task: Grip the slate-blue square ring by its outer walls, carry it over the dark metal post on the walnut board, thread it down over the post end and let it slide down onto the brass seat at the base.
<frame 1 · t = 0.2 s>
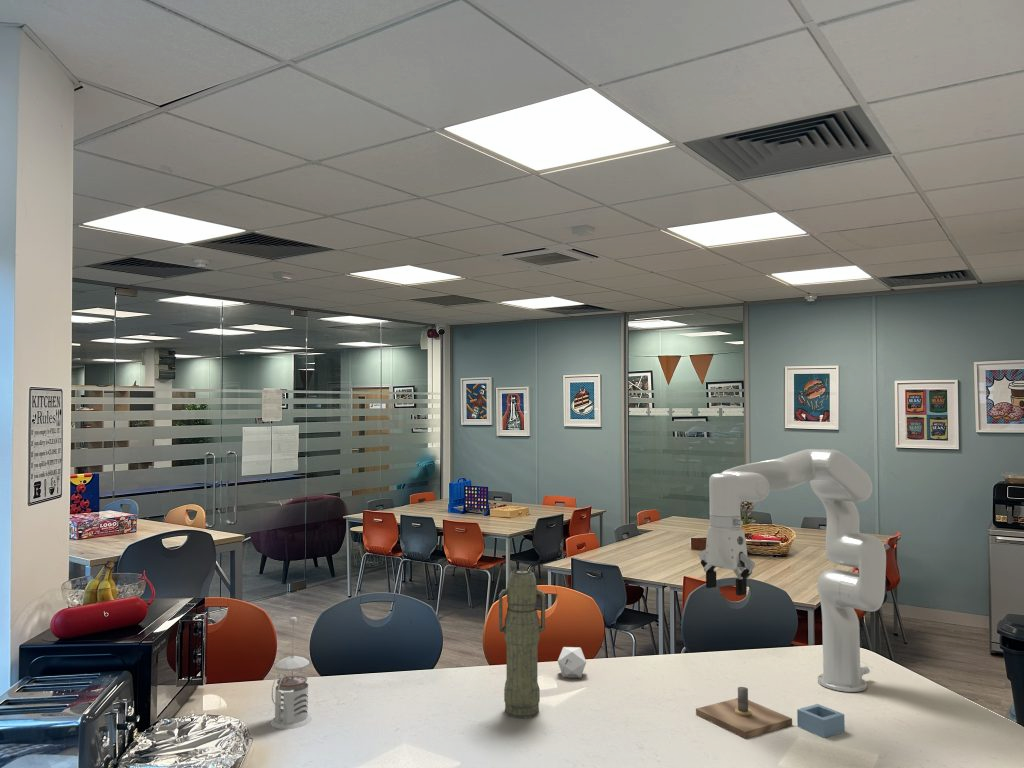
hand: (725, 591, 183), 31 cm above the countertop, tool pointing down, fingers open, 9 cm apart
post board: (743, 719, 179), on the countertop
slate ring: (820, 729, 173), on the countertop
french press: (289, 722, 177), on the countertop
die: (572, 676, 210), on the countertop
thermos: (522, 712, 184), on the countertop
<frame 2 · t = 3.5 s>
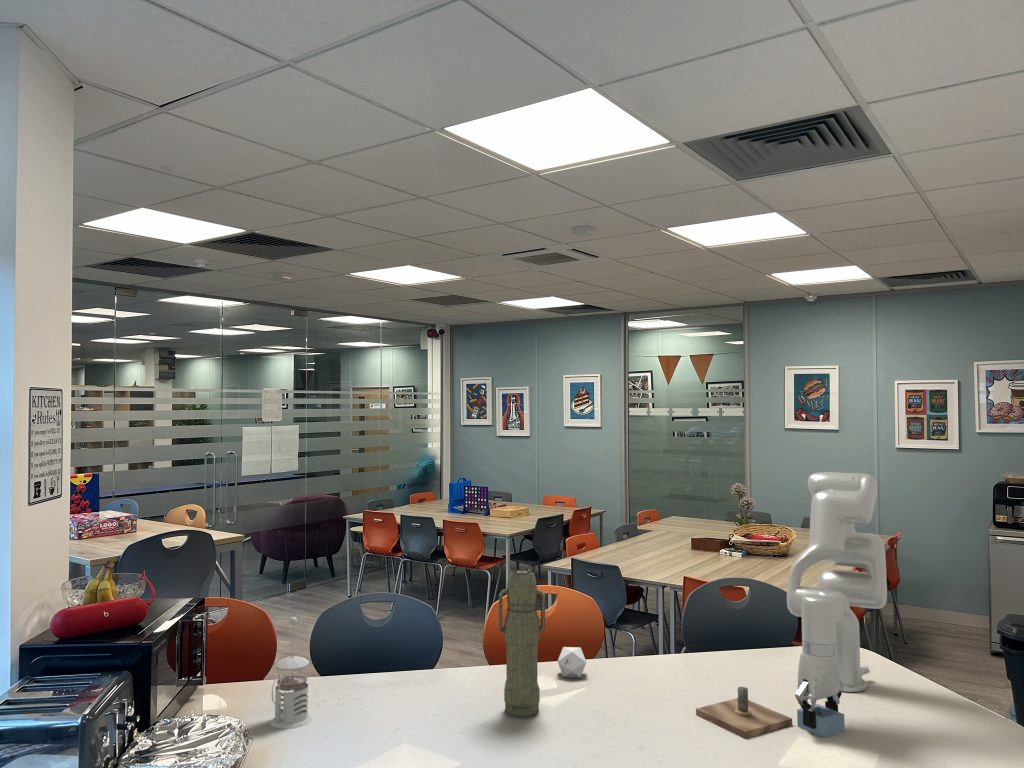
hand: (820, 722, 174), 1 cm above the countertop, tool pointing down, fingers closed on slate ring, 7 cm apart
slate ring: (820, 729, 173), on the countertop, touching gripper
everything else where it was.
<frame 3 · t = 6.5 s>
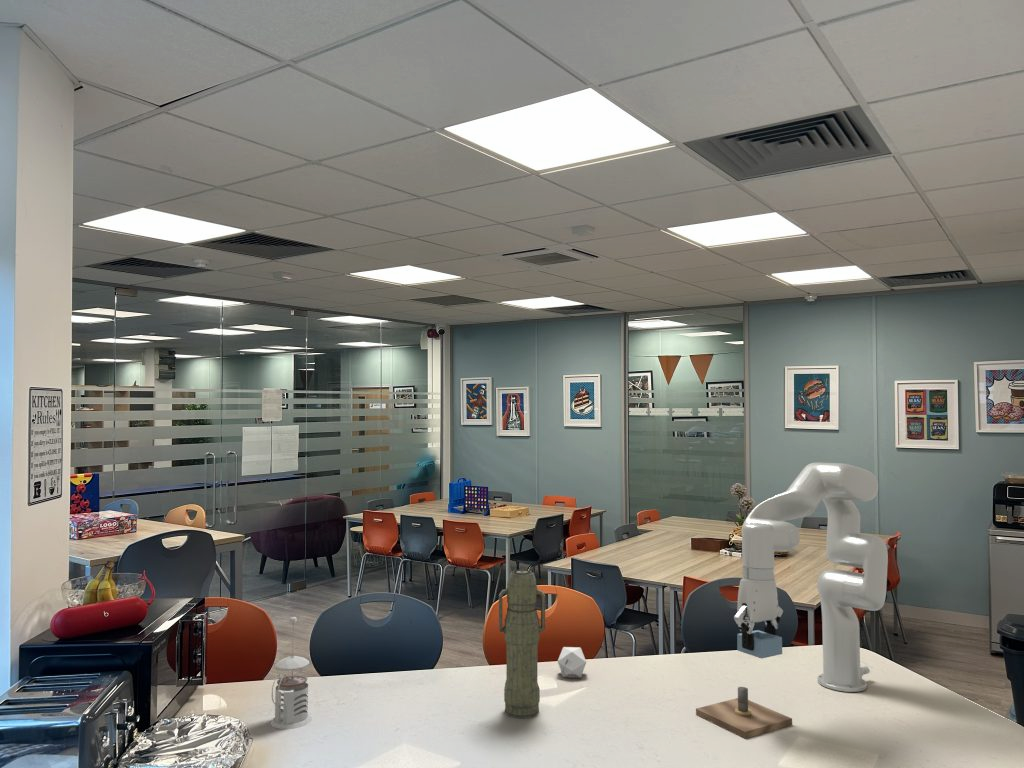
hand: (759, 646, 179), 18 cm above the countertop, tool pointing down, fingers closed on slate ring, 7 cm apart
slate ring: (759, 652, 178), point 17 cm above the countertop, touching gripper
everything else where it was.
when the fingers open (5 cm above the countertop, at t = 9.4 s): slate ring drops 2 cm, resting on post board.
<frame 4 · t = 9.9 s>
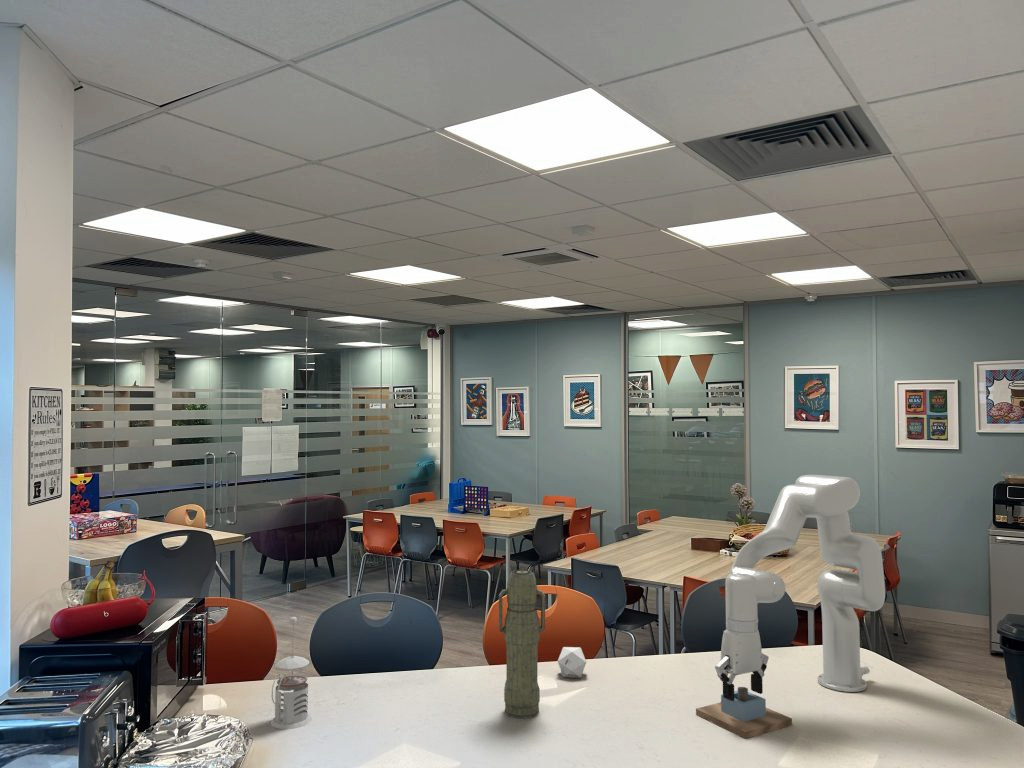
hand: (742, 695, 179), 6 cm above the countertop, tool pointing down, fingers open, 9 cm apart
slate ring: (743, 713, 179), point 1 cm above the countertop, touching post board
everything else where it was.
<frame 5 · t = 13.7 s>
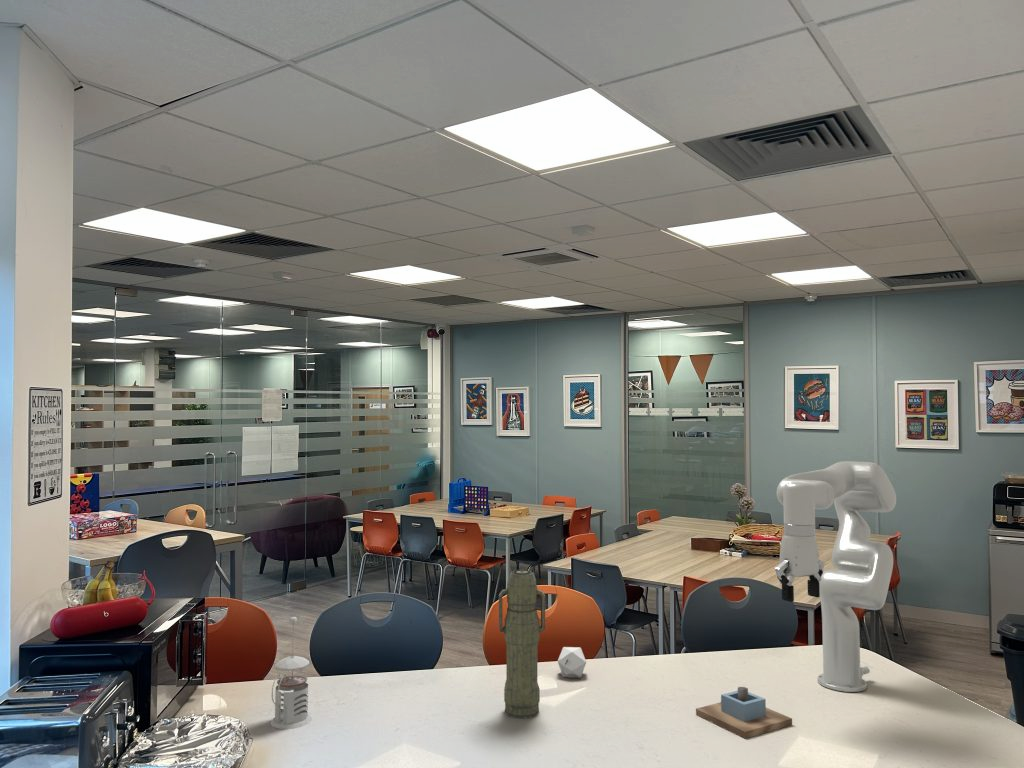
hand: (801, 598, 185), 28 cm above the countertop, tool pointing down, fingers open, 9 cm apart
nothing on the countertop moved.
at the end: slate ring 0.0 cm from the post board (horizontally); slate ring point 1.5 cm above the countertop; the gripper is holding nothing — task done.
